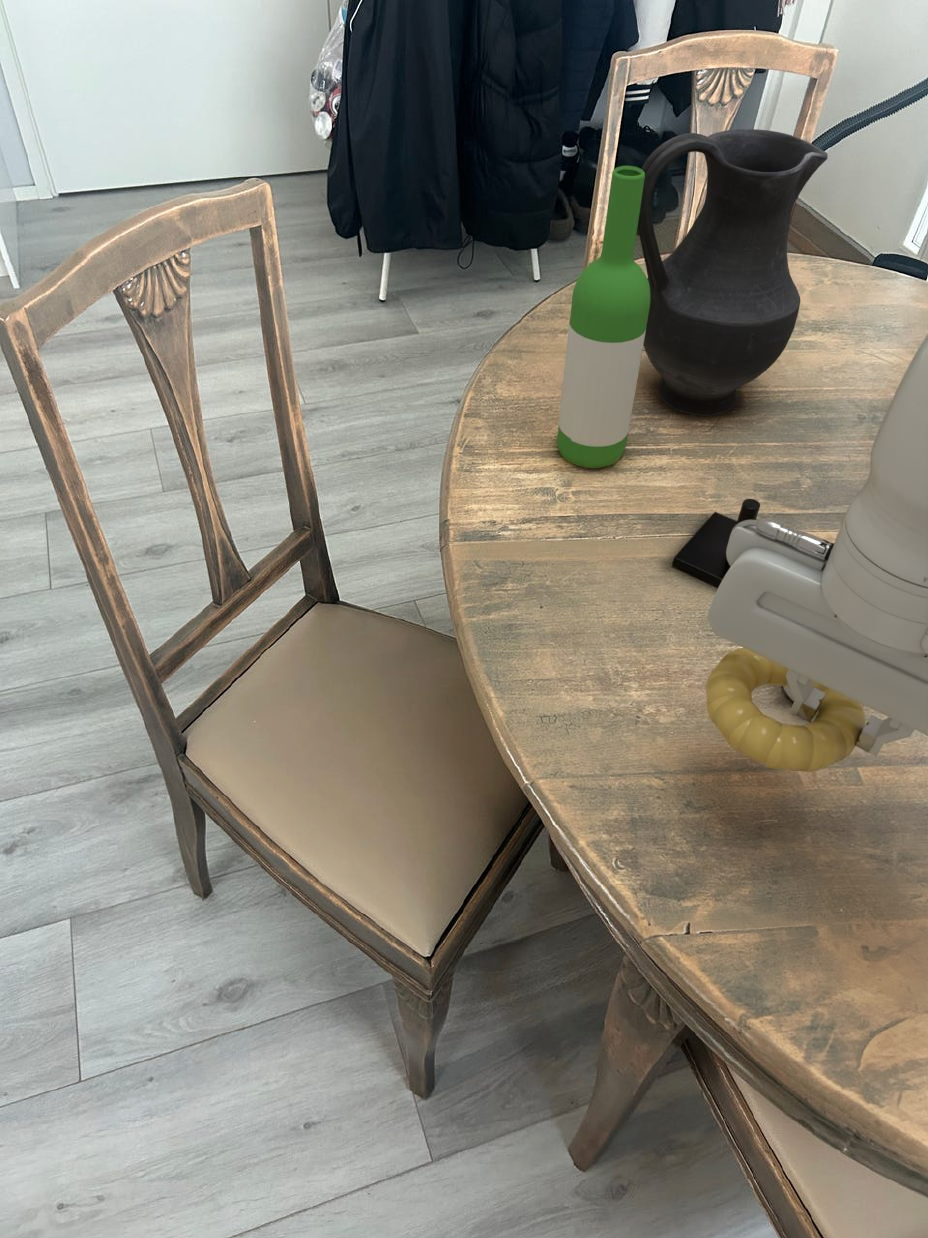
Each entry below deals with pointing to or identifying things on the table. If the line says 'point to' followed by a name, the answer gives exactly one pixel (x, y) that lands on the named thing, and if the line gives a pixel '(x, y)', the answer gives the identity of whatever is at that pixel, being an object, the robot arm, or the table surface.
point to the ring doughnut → (768, 737)
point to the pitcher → (725, 267)
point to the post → (712, 546)
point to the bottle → (606, 336)
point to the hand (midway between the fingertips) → (835, 728)
